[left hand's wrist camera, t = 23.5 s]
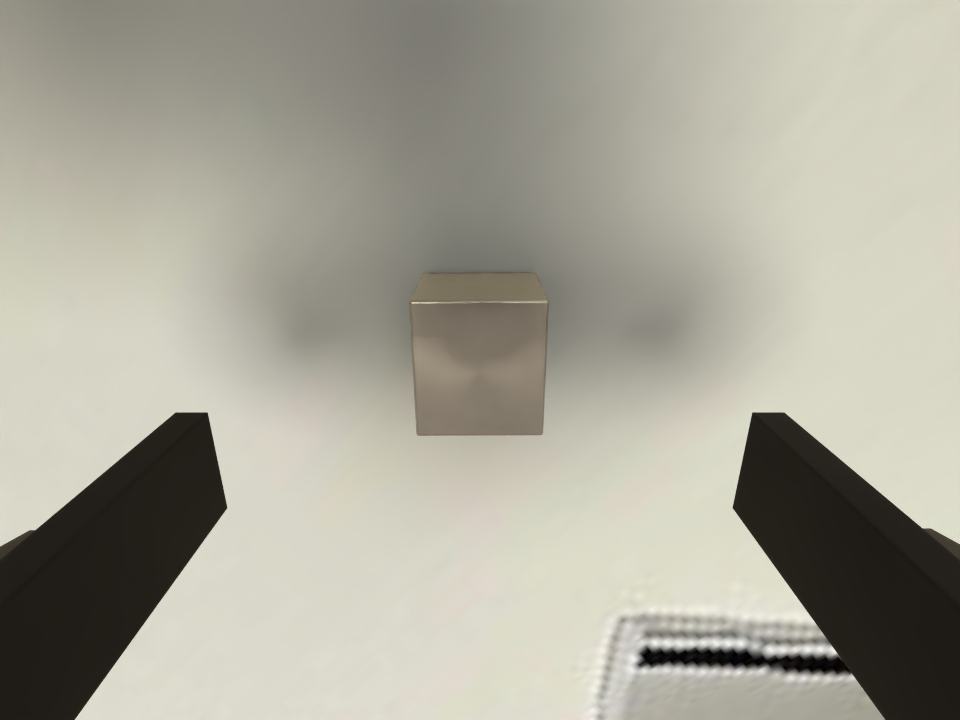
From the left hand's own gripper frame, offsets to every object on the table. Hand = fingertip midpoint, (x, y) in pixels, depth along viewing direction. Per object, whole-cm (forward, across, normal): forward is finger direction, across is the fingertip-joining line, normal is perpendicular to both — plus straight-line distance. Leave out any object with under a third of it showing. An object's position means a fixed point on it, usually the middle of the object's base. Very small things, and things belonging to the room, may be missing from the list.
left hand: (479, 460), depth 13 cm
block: (+10, 0, 0) cm, 10 cm away
